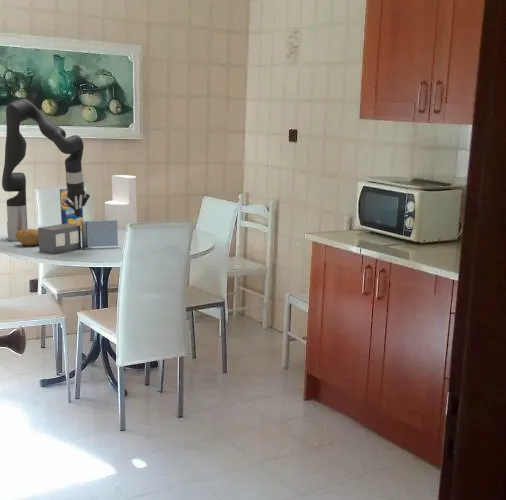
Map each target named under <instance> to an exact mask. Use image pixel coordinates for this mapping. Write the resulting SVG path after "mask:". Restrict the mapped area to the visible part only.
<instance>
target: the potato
mask: <svg viewBox="0 0 506 500" xmlns="http://www.w3.org/2000/svg"><path fill="white" fill-rule="evenodd" d="M16 238H17V240H18V241H17V242H19V243H20V244H22V245H23V246H28V247H31V246H32V247H34V246H36V245H39V235H38V228H36V229H34V228H28V229H23V230H19V231H17V233H16Z"/></svg>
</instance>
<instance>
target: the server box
mask: <svg viewBox="0 0 506 500" xmlns="http://www.w3.org/2000/svg"><path fill="white" fill-rule="evenodd" d="M37 229H38V235H39V244H38V247H39V249H38V251H39V252H41V253H45V254H51V255H56V254H61V253H62V254H63V253H67V252H72V251H77V250H82V251H88V250H93V249H94V248H93V247H87V248H83V247H82V231H80V226H79V225H73V224H67V223H65V224H61V223H60V224H54V225H48V226H40V227H38V228H37Z"/></svg>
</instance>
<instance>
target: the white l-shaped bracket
mask: <svg viewBox="0 0 506 500" xmlns="http://www.w3.org/2000/svg"><path fill="white" fill-rule="evenodd" d="M111 197H112V199H111V200H108V201H105V202H104V219H105V220H104V221H110V220H117V229H122V230H123V229H124V230H125V228H126V226H127V224H128V223H137V224H138V217H137V216H138V215H137V213H138V212H137V211H138V209H137V208H138V206H137V204H138V203H137V176H136V175H126V174H118V175H116V174H112V175H111ZM122 230H121V231H122Z"/></svg>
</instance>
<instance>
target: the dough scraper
mask: <svg viewBox="0 0 506 500" xmlns="http://www.w3.org/2000/svg"><path fill="white" fill-rule="evenodd" d="M81 227H82V231H81V247H83V248H87V247H92V248H93V247H112V246H113V247H116V246H117V247H118V245H119V243H118V241H119V239H118V238H119V237H118V236H119V235H118V232H119V230H117V220H110V221H105V220H87V221H86V220H83V221H81Z"/></svg>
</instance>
